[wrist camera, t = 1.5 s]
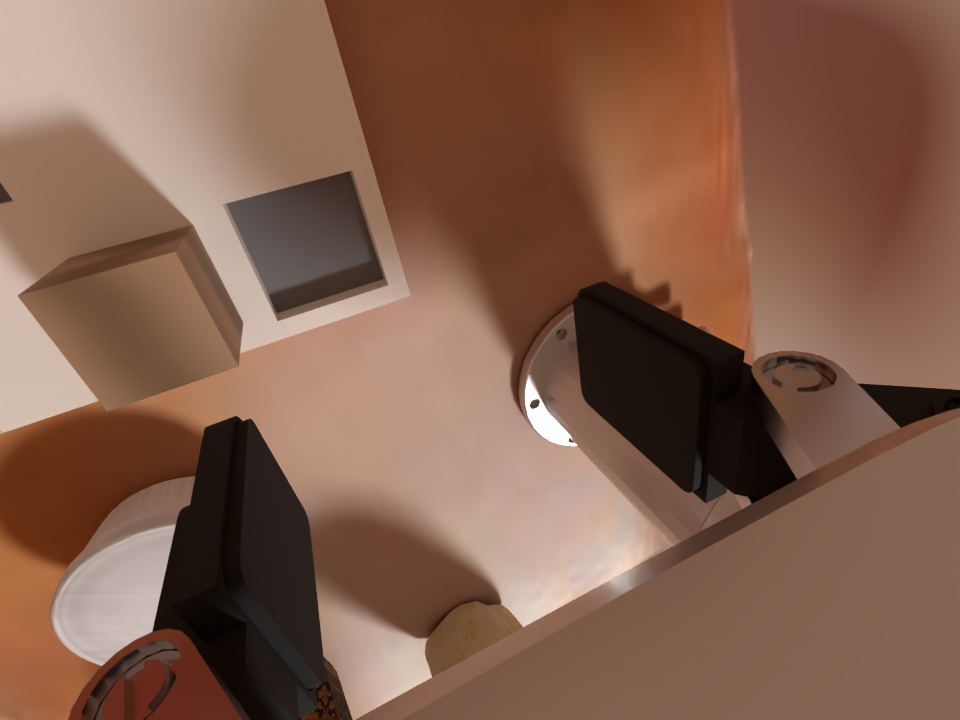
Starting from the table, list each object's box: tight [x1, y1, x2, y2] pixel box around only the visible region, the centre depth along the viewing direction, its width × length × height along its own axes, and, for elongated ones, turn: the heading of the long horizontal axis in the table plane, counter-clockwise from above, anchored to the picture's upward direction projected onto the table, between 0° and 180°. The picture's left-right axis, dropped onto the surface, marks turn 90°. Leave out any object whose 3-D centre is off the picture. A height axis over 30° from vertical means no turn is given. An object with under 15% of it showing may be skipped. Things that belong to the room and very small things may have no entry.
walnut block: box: [18, 225, 243, 411], centre depth 20 cm, size 5×5×5 cm
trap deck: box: [0, 0, 410, 434], centre depth 20 cm, size 28×16×2 cm, turn 101°
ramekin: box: [50, 476, 195, 666], centre depth 27 cm, size 11×11×5 cm
